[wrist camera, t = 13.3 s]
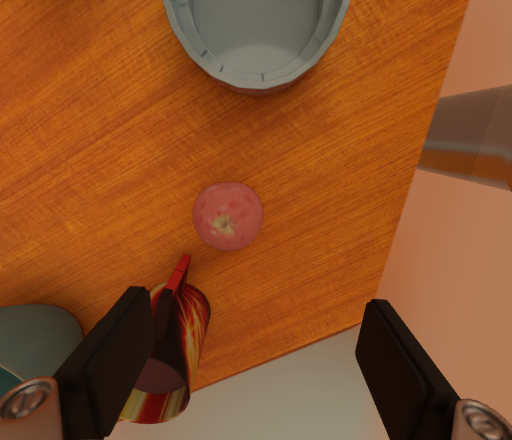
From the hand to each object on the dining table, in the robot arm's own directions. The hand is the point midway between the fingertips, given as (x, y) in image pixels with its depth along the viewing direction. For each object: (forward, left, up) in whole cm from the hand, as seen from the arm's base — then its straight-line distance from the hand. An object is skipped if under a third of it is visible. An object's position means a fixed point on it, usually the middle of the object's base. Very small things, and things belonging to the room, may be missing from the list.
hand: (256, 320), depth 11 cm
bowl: (+1, -19, -21) cm, 28 cm away
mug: (+11, +15, -21) cm, 28 cm away
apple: (+3, +1, -21) cm, 22 cm away
